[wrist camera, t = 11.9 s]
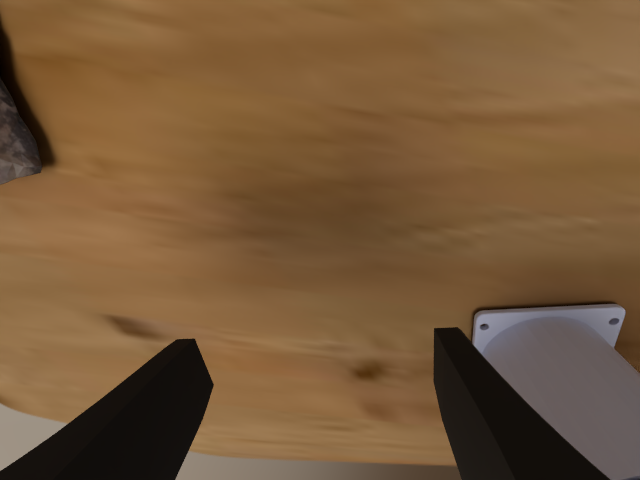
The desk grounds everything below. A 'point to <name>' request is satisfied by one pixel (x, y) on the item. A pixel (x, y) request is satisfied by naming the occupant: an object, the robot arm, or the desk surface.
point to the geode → (15, 142)
